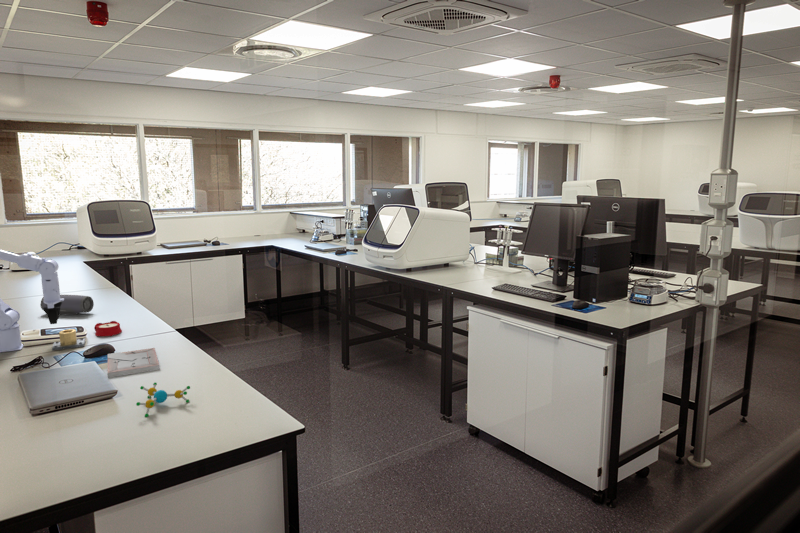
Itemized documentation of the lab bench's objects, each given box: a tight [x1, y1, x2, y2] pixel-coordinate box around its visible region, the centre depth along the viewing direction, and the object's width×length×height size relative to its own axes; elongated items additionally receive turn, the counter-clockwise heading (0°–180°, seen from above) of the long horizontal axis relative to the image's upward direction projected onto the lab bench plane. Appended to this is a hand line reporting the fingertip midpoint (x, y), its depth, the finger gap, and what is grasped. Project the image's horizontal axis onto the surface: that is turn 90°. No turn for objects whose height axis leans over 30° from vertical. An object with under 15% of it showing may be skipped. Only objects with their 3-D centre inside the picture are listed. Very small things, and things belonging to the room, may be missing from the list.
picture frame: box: [107, 347, 161, 378], centre depth 192 cm, size 16×2×22 cm
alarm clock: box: [94, 320, 123, 337], centre depth 231 cm, size 10×6×15 cm
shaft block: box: [51, 337, 86, 351], centre depth 212 cm, size 11×8×5 cm
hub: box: [58, 328, 78, 345], centre depth 212 cm, size 6×6×5 cm
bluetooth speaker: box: [40, 294, 95, 316], centre depth 261 cm, size 23×9×10 cm, turn 84°
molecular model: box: [135, 382, 191, 418], centre depth 158 cm, size 16×5×15 cm
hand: (54, 321), depth 212 cm, fingers open, 7 cm apart
